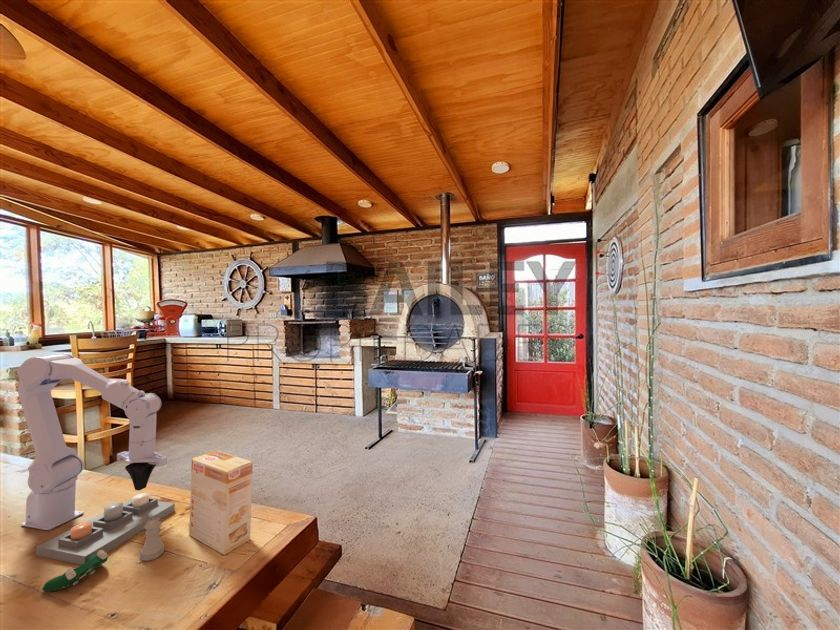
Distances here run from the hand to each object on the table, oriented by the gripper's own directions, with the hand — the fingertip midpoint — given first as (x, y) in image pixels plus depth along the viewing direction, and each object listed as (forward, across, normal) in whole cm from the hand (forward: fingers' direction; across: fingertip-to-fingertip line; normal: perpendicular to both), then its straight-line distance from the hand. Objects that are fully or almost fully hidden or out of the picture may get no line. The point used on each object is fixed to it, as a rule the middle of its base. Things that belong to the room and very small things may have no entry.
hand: (140, 488), depth 94 cm
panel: (+7, 0, -7) cm, 10 cm away
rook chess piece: (+8, +18, -12) cm, 23 cm away
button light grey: (+4, 0, -7) cm, 8 cm away
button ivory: (+5, 0, 0) cm, 5 cm away
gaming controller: (+8, +10, -21) cm, 25 cm away
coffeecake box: (+7, +28, -3) cm, 29 cm away
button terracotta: (+5, 0, -14) cm, 15 cm away
